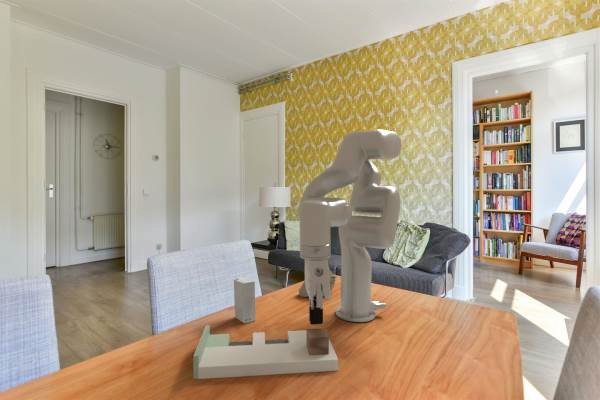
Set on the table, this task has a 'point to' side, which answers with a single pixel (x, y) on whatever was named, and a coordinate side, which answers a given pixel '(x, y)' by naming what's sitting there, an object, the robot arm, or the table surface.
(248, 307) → the skincare box
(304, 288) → the fossil tooth
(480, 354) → the table surface
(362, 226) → the robot arm
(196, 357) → the board
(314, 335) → the walnut block
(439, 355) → the table surface
